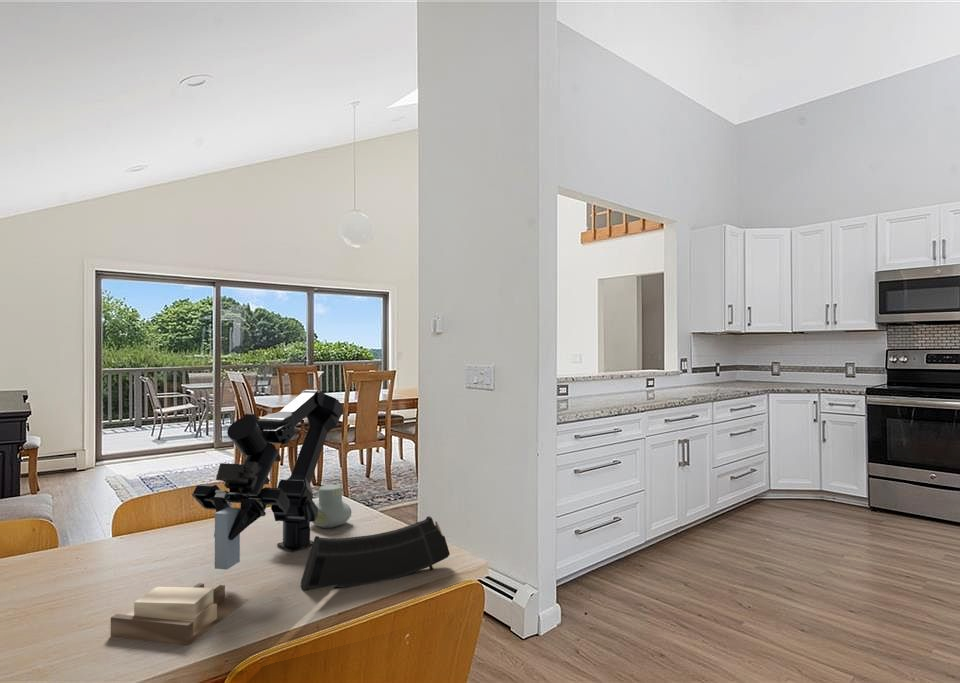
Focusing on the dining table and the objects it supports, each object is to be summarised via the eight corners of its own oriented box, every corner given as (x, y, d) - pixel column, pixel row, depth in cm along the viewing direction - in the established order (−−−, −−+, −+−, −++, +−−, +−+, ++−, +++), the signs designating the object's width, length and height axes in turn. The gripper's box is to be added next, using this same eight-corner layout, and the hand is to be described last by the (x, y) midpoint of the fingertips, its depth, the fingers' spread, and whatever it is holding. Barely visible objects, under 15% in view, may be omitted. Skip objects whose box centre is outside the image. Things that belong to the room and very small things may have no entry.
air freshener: (356, 523, 153) (356, 486, 153) (333, 532, 146) (333, 493, 146) (327, 517, 159) (327, 481, 159) (303, 525, 152) (304, 487, 152)
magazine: (290, 551, 108) (431, 488, 121) (287, 546, 111) (426, 484, 124) (316, 632, 110) (453, 561, 123) (313, 625, 113) (446, 556, 126)
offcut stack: (156, 611, 100) (157, 582, 100) (218, 617, 98) (218, 588, 98) (123, 632, 93) (123, 601, 93) (188, 639, 91) (189, 607, 91)
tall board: (227, 560, 113) (227, 507, 113) (239, 561, 112) (239, 507, 112) (214, 568, 109) (214, 513, 109) (227, 569, 108) (227, 513, 108)
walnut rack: (182, 597, 108) (182, 576, 108) (249, 604, 105) (249, 582, 105) (110, 642, 92) (110, 617, 92) (187, 651, 89) (188, 625, 89)
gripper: (198, 444, 116) (157, 514, 105) (282, 447, 113) (249, 520, 102) (222, 474, 124) (187, 543, 113) (302, 478, 120) (273, 549, 109)
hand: (222, 538), depth 109 cm, fingers closed on tall board, 3 cm apart
